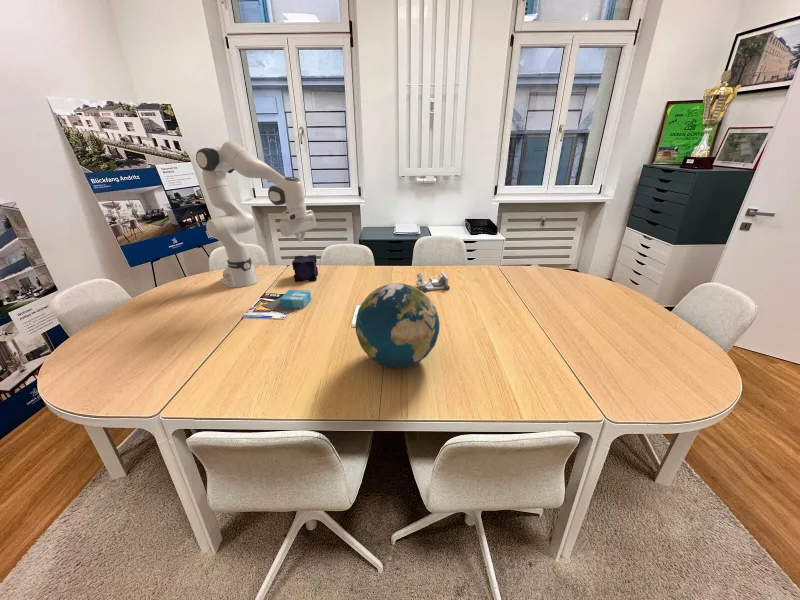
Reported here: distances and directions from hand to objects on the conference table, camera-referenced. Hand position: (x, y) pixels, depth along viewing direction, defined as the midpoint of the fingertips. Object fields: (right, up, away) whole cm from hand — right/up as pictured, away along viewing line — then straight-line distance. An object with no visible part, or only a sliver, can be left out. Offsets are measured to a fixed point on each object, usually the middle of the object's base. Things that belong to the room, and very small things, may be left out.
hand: (301, 240), depth 173 cm
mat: (-8, -32, +1) cm, 33 cm away
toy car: (+66, -23, +19) cm, 73 cm away
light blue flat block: (-2, -26, +7) cm, 27 cm away
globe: (+49, -52, -42) cm, 83 cm away
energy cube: (-6, -16, +34) cm, 38 cm away
